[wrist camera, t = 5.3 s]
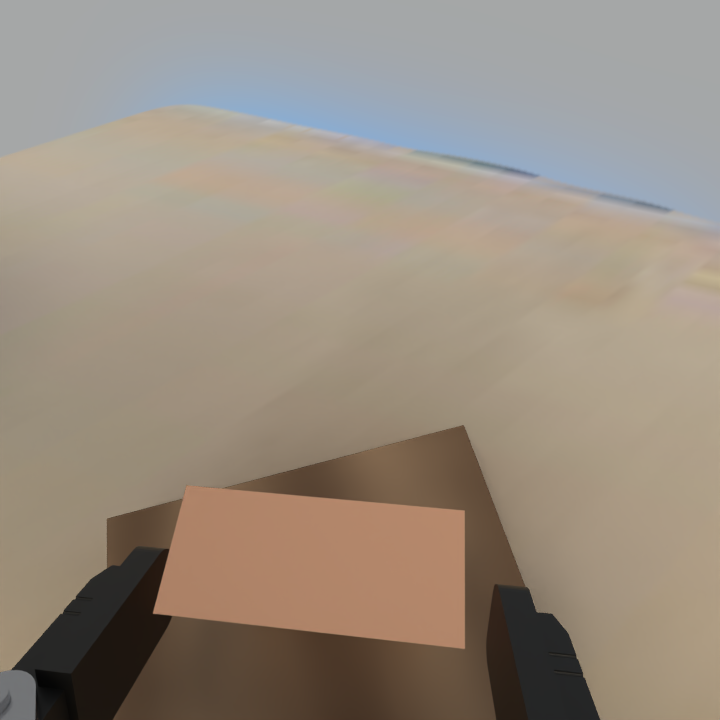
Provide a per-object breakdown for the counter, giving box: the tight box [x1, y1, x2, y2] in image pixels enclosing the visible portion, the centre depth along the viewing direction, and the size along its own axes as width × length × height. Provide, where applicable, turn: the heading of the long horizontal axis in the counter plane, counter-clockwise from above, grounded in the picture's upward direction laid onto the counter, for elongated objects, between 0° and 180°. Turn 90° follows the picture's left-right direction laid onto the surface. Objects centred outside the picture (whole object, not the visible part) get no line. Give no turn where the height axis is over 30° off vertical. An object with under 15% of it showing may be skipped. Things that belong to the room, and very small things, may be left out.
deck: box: [107, 425, 525, 720], centre depth 18 cm, size 14×11×3 cm
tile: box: [153, 485, 465, 649], centre depth 13 cm, size 6×2×8 cm, turn 84°
